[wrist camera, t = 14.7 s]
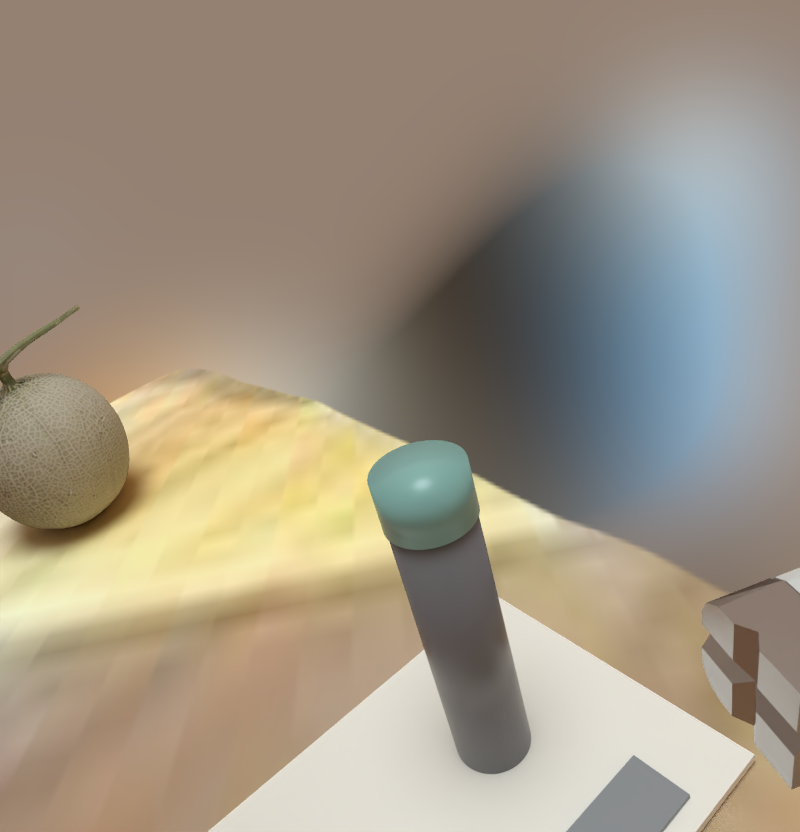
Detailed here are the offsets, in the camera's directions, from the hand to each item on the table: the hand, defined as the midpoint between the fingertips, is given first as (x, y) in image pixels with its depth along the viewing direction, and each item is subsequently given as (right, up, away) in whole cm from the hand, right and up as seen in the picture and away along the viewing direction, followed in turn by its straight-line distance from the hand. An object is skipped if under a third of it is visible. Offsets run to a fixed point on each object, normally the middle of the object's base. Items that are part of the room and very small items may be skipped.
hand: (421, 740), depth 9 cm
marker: (+4, -9, +21) cm, 23 cm away
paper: (+2, -11, +19) cm, 22 cm away
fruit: (-25, -4, +47) cm, 53 cm away
